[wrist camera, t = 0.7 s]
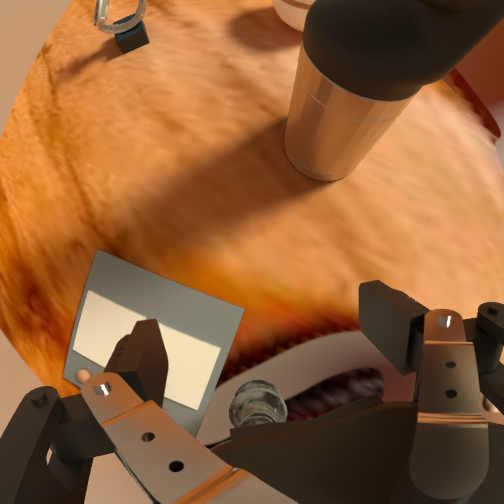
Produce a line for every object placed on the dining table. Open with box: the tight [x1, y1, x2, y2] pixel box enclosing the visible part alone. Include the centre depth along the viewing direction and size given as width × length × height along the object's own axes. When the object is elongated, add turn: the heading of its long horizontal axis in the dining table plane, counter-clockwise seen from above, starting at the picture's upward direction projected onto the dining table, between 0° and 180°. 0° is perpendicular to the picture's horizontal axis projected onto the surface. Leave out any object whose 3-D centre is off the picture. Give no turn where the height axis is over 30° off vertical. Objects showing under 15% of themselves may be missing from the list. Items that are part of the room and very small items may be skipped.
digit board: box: [63, 249, 245, 438], centre depth 32 cm, size 17×18×2 cm
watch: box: [94, 0, 149, 54], centre depth 31 cm, size 6×8×11 cm
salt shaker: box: [229, 380, 287, 428], centre depth 26 cm, size 6×6×12 cm
